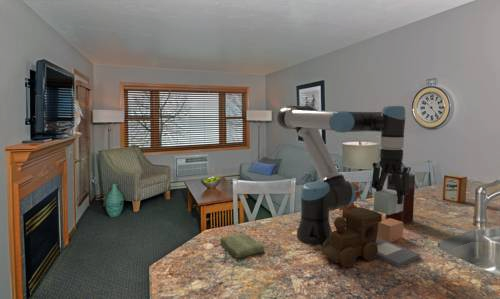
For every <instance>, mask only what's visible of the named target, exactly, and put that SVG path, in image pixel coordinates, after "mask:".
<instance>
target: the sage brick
mask: <svg viewBox="0 0 500 299" xmlns="http://www.w3.org/2000/svg"><path fill="white" fill-rule="evenodd" d="M396 194H397V192H396V191H395V190H391V189H387V188H386V189H383V190H382V191H378V192H376V191H374V195H373V196H374V197H373V211H375V212H378V213H380V214H384V215H386V214H387V215H390V214H394V201H395V195H396ZM403 201H404V195H403ZM400 211H403V203H402V204H400Z"/></svg>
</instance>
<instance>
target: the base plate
mask: <svg viewBox="0 0 500 299" xmlns="http://www.w3.org/2000/svg"><path fill="white" fill-rule="evenodd" d="M376 243H377V247H378V252H377V255H376V257H375V258H377V259H379V260H381V259H382V260H381V261H383V260H384V262H386V263H388V264H390V263H391V265H392V264H393V265H392V266H394V265H395V266H394V267H396V266H397V268H400V267H402V265H403V266H405V265H406V264H409V262H410V263H411V262H413V261H414V262H415V261H416V260H418V259H421V254H420V253H418V252H417V251H413V250H411V249H407V248H405V247H403V246H400V245H398V244H395V243H393V242H388V241H385V240H383V239H380V238H378V237H377V239H376ZM404 264H405V265H404Z"/></svg>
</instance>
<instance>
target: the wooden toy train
mask: <svg viewBox="0 0 500 299" xmlns="http://www.w3.org/2000/svg"><path fill="white" fill-rule="evenodd" d="M382 218H383V213H380V212H377V211H374V210H372V209H369V208H366V207H365V208H364V207H358V208H352V209H347V210H344V211H343V210H342V216H337V217H336V218H335V219H334V220H333V224H334V227H335V230H332V232H330V233H329V238H328V239H327V240H325V242H324V243H323V244H322V248H321V249H322V251H321V252H322V253H321V254H322V255H324V256H325V257H327V258H329V260H332V261H334V262H335V263H340V265H341V266H342V268H350V267H353V265H354V264H355V263H356V260H357V258H358V257H361V256H362V258H363V259H364V260H365V261H366V262H367V261H368V262H370V261H373V260H374V259H376V258H377V257H376V255H377V252H378V247H377V243H376V239H377V233H378V223H379V222H382V220H383V219H382Z"/></svg>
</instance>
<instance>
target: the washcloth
mask: <svg viewBox="0 0 500 299" xmlns="http://www.w3.org/2000/svg"><path fill="white" fill-rule="evenodd" d="M220 245H221V246H222V247H223V248H224V249H226V251H228V252H229V253H230V254H231V255H232V256H233V257H235V258H236V259H240V258H243V257H244V258H245V257H249V256H251V255H257V254H263V253H264V252H265V248H264V245H263V244H261V243H260V242H258V241H257V240H256V239H255V238H253V237H252V236H251V235H250V234H247V233H240V234H232V235H229V236H222V237H220Z"/></svg>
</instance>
